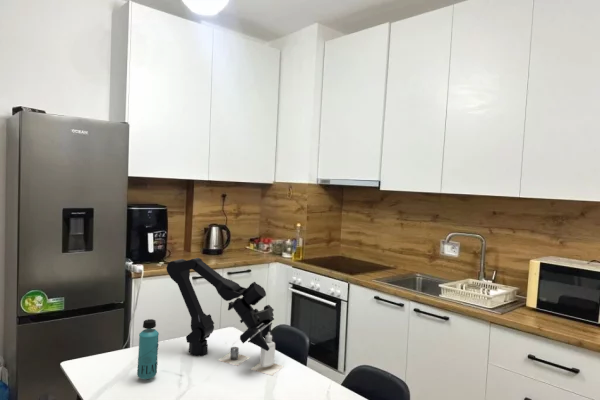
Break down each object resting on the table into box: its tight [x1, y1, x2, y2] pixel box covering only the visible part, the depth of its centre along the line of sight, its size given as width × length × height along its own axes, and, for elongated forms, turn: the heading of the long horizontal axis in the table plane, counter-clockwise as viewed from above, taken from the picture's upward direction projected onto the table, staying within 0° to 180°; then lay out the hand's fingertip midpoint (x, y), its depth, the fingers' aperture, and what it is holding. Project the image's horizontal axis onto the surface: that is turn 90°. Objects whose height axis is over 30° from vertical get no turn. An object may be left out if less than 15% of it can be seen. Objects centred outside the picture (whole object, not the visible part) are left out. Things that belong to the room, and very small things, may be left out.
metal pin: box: [230, 346, 240, 360], centre depth 154 cm, size 3×3×4 cm
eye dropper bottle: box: [259, 332, 276, 367], centre depth 148 cm, size 4×6×12 cm
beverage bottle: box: [136, 318, 160, 380], centre depth 136 cm, size 6×7×20 cm
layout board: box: [217, 351, 284, 376], centre depth 150 cm, size 24×12×1 cm, turn 65°
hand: (271, 347), depth 147 cm, fingers closed on eye dropper bottle, 5 cm apart
